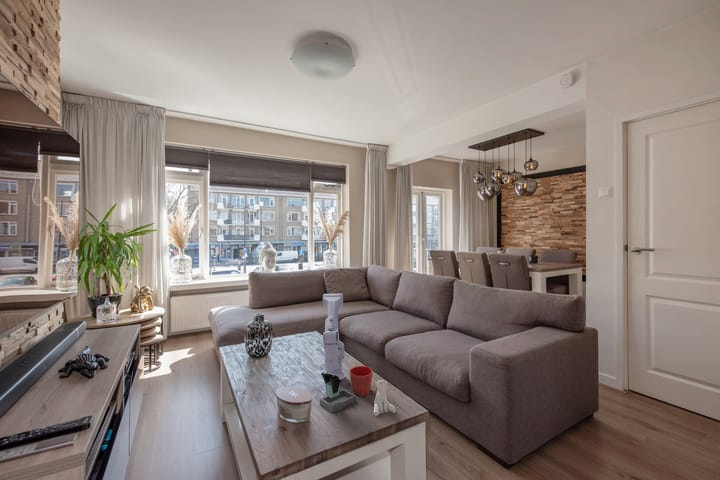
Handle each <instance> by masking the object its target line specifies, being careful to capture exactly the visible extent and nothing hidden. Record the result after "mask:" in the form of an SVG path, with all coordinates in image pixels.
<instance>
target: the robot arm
mask: <svg viewBox="0 0 720 480" xmlns="http://www.w3.org/2000/svg"><path fill="white" fill-rule="evenodd" d="M322 306H323V307H324V309H327V318H325V321H324V332H323V333H322V343H323V350H324V363H322V364H319V366H320V370H321V371H322V370H323V371H322V372H321V377H322V380H323V381H324V384H325V385H326V383H327V382H330V381H331V383H332V390H333V393H334V394H335V393H337V392H338V389H339V390H340V385H341V383H342V380H344V379H346V377H347V376H346V375H345V373H343V360H345V355H346V354H345V344H344V342H342V341H341V340H340V337H339V336H340V333H339V310H340V309H343V306H344V294H343V293H342V292H341V293H323V294H322Z"/></svg>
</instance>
